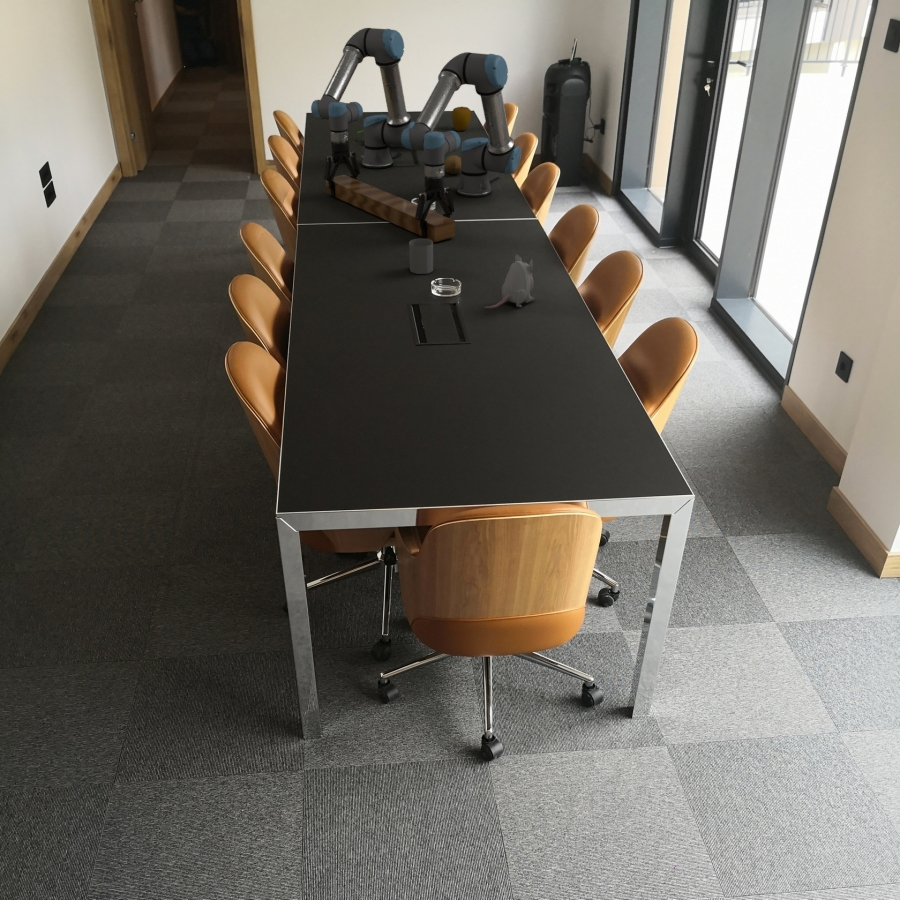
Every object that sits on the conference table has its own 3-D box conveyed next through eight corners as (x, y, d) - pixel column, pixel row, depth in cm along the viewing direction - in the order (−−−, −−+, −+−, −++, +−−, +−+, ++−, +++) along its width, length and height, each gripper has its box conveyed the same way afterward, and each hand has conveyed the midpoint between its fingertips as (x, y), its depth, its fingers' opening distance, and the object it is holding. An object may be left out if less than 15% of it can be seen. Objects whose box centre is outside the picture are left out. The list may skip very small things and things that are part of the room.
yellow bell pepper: (471, 132, 486) (471, 108, 479) (451, 132, 486) (451, 108, 479) (470, 128, 495) (471, 104, 488) (452, 128, 495) (452, 104, 488)
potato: (462, 169, 421) (462, 152, 416) (464, 177, 409) (465, 160, 405) (442, 169, 420) (442, 152, 416) (444, 177, 408) (444, 160, 404)
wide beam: (326, 193, 384) (325, 178, 380) (345, 189, 389) (344, 174, 385) (434, 242, 331) (434, 225, 327) (455, 236, 336) (455, 220, 332)
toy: (541, 300, 285) (543, 256, 277) (494, 322, 270) (495, 276, 262) (519, 293, 290) (521, 249, 282) (472, 313, 276) (473, 269, 268)
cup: (409, 265, 311) (408, 238, 306) (432, 265, 312) (431, 238, 307) (410, 274, 304) (409, 246, 299) (433, 273, 305) (433, 246, 299)
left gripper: (321, 147, 361) (325, 200, 374) (366, 138, 373) (369, 190, 385) (312, 143, 366) (317, 196, 379) (357, 135, 378) (360, 187, 390)
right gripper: (416, 183, 317) (417, 242, 329) (464, 173, 328) (463, 230, 340) (404, 179, 322) (406, 237, 334) (451, 168, 333) (452, 225, 345)
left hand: (343, 193), depth 382 cm, fingers closed on wide beam, 10 cm apart
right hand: (435, 233), depth 337 cm, fingers closed on wide beam, 10 cm apart
